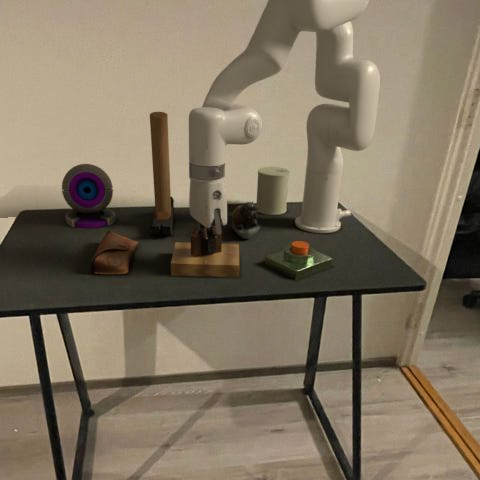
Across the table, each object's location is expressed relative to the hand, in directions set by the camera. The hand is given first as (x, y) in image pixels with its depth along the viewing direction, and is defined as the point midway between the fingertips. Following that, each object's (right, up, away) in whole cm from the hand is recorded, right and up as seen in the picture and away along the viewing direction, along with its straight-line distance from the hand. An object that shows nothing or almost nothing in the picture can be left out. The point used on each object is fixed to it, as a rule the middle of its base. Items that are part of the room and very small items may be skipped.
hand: (206, 251), depth 122 cm
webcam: (-33, +11, +24) cm, 42 cm away
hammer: (-13, +9, +22) cm, 27 cm away
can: (+17, +17, +37) cm, 44 cm away
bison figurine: (+9, +7, +19) cm, 22 cm away
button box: (+21, -3, +4) cm, 22 cm away
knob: (0, 0, 0) cm, 0 cm away
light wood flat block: (0, -3, +2) cm, 3 cm away
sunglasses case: (-21, -1, +3) cm, 21 cm away
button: (+21, 0, +2) cm, 21 cm away
